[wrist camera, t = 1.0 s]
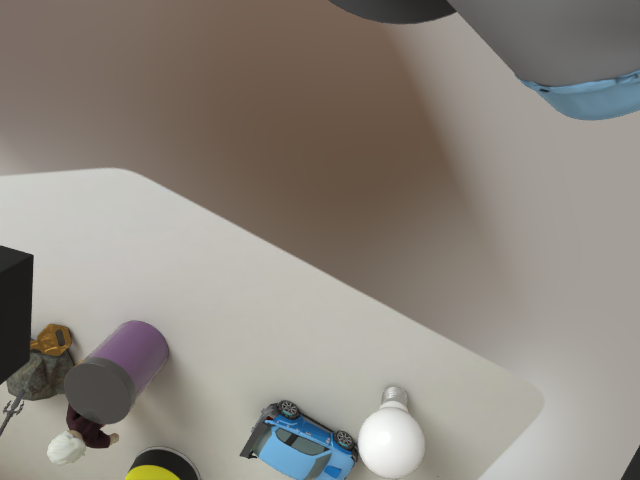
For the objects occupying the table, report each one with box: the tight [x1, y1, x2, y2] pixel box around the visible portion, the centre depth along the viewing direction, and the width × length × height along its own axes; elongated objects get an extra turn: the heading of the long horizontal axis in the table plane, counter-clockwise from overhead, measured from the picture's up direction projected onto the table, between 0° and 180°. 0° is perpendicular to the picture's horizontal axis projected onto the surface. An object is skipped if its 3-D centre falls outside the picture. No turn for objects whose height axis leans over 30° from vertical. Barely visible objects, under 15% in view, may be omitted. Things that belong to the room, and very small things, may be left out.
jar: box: [64, 321, 168, 424], centre depth 59 cm, size 7×7×9 cm
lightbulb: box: [358, 387, 425, 479], centre depth 55 cm, size 6×6×11 cm
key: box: [30, 324, 72, 356], centre depth 63 cm, size 4×8×1 cm
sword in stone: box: [0, 340, 74, 436], centre depth 61 cm, size 10×8×12 cm
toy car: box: [240, 400, 359, 480], centre depth 61 cm, size 6×12×6 cm, turn 63°
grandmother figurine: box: [47, 403, 119, 465], centre depth 60 cm, size 8×4×13 cm, turn 41°
